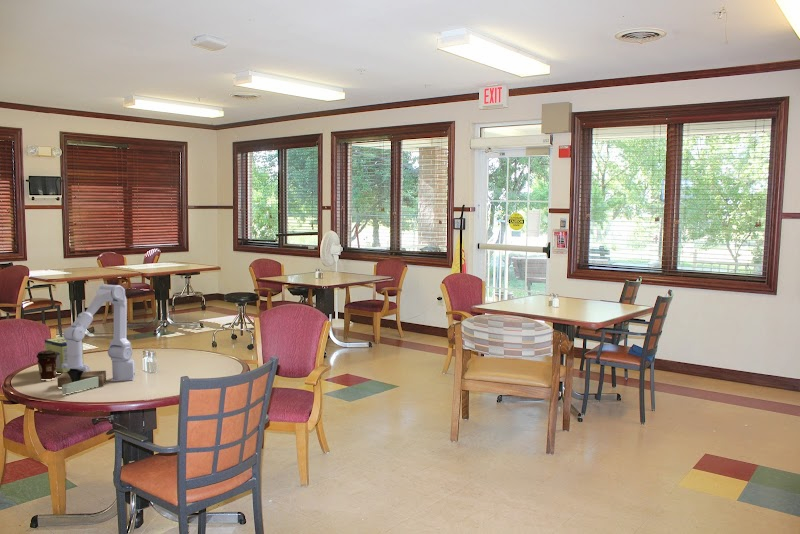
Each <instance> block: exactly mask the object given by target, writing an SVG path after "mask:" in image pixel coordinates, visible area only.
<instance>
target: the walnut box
mask: <svg viewBox="0 0 800 534" xmlns="http://www.w3.org/2000/svg"><path fill="white" fill-rule="evenodd" d="M97 376H98V378H99V386H103V385H104V386H105V384H106V383H105V382H107V371H106V370H93V371H92V370H91V371H87V372H83V373H82V375H81V378H80V380H84V379H88V378H93V377H97ZM56 380H57V388H58V387H62V385H64V384H68V383H72V380H71V378H70V376H69V374H68V373H62V374H61V375H59V376H57V377H56ZM104 383H105V384H104ZM104 386H103V387H104Z"/></svg>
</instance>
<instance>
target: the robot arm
mask: <svg viewBox="0 0 800 534" xmlns="http://www.w3.org/2000/svg"><path fill="white" fill-rule="evenodd" d="M127 301H128V299H127V296H126V289H125V288H124V287H123V286H122V285H120V284H107V283H103V284H101V285H100V286H99V288H98V289H97V290H96V295H95V296H94V298H93V299H92V301H91V303H90V304H89V305H88V307H87V308H86V310H85V311H82V312H80V313H78V314H77V318H75V320H74V321H73V322H72V323H71V325H70V326H68V327H67V328H66V329H65V330H64V332H63V334H62V337H64V338H65V340H66V343H67V358H68V363H63V364H61V366H62V368H66V369H70V371H67V373H68V374H69V376H70V378H71V380H72V382H76V381H80V378H81V375H82V373H83V372H89V371H90V366H89V365H86V364H83V362H84V358H83V359H82V342H83V339H84V338H85V335H86V331H87V329H88V328H89V326H90V325H91V324H92V323H93V321H94V315H95V314H96V313H97V312H98V311H99V309H100V308H101V307H102V306H103V305H104V303H107V302H108V303H109V302H110V303H111V304H112V305H113V335H112V336H113V338H112V340H111V341H110V342H109V347H108V349H107V355H108V357H109V358H110V360H111V369H112V371H111V373H112V378H111V379H110V382H122V381H134V379H135V377H136V369H135V366H136V365H135V359H132V358H131V357H132V356H133V349H132V343H131V342H130V340H128V339H127V338H128V337H127V331H128V330H127V329H128V328H127V327H128V326H127V323H128V322H127V321H128V320H127V319H128V318H127V317H128V314H127V313H128V302H127Z"/></svg>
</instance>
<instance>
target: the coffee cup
mask: <svg viewBox="0 0 800 534" xmlns="http://www.w3.org/2000/svg"><path fill="white" fill-rule="evenodd" d="M57 356H58V355H57V354H56V352H55V351H50V350H48V351H45V350H41V351H39V352H37V354H36V358H37V365H38V372H39V376H40V380H41V379H52V378H55V377H56V378H57V374H56V366H57Z"/></svg>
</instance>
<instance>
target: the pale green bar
mask: <svg viewBox="0 0 800 534" xmlns="http://www.w3.org/2000/svg"><path fill="white" fill-rule="evenodd" d="M98 386H99V378H98V376H97V377H93V378H88V379H84V380H80V381H76V382H72V383H68V384H64V385H62V389H61V392H62V393H61V394H66V393H71V392H75V391H79V390H84V389H88V388H92V389H94V388H93V387H96V388H99V387H98Z"/></svg>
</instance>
